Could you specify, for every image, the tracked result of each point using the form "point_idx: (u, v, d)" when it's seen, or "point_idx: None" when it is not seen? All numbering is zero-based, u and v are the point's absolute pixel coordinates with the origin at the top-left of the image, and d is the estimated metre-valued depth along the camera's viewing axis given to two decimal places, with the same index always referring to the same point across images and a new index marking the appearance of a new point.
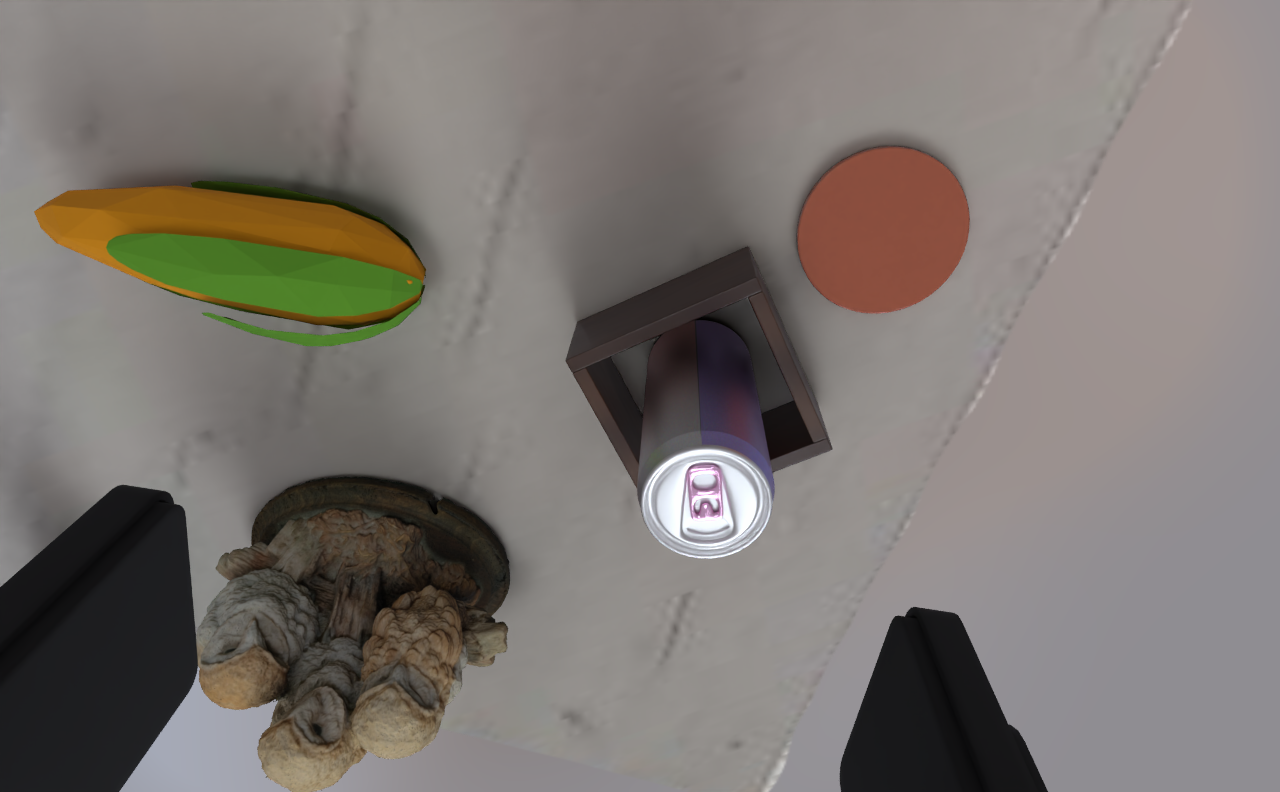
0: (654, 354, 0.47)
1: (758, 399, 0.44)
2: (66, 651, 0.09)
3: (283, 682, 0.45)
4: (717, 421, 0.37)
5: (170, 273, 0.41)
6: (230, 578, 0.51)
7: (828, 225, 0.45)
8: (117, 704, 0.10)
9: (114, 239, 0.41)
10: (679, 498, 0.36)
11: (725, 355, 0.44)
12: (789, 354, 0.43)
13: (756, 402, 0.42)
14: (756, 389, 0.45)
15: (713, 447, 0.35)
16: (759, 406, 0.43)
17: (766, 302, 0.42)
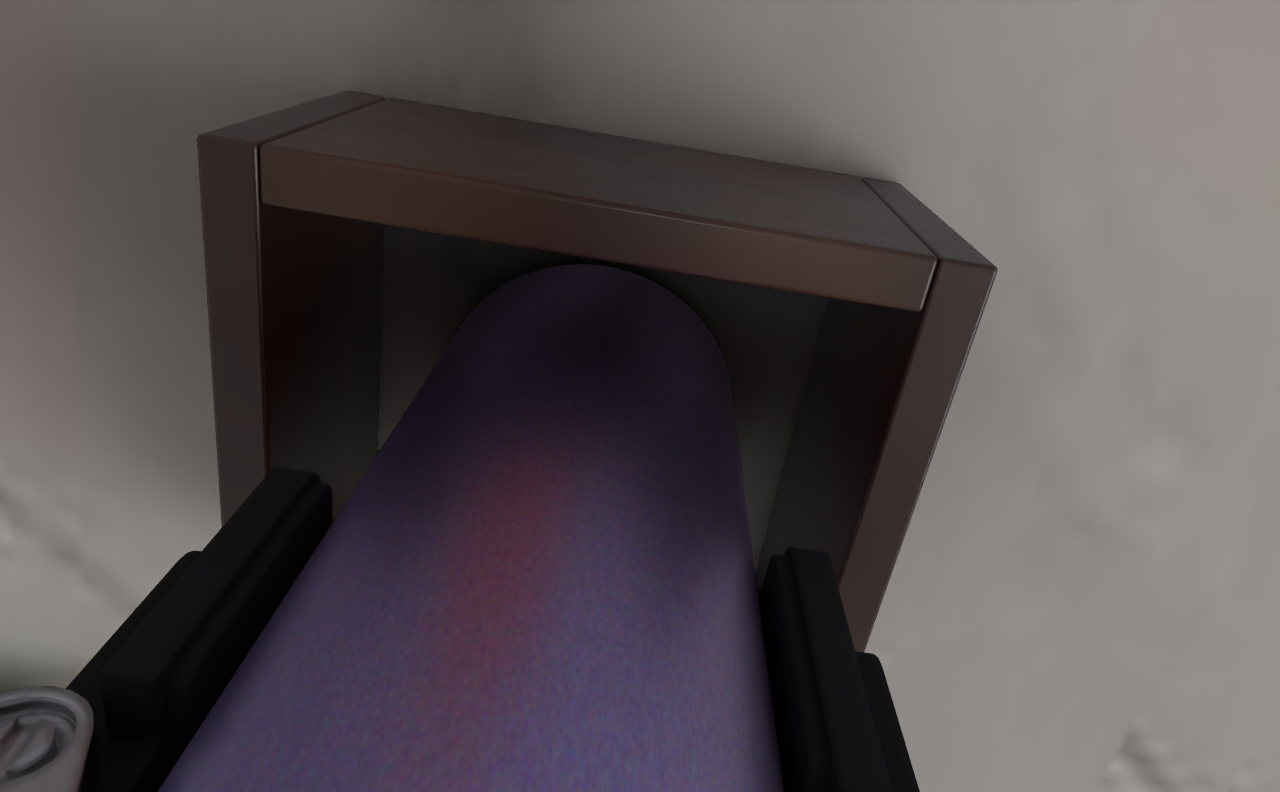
0: None
1: (612, 395, 0.11)
2: (256, 614, 0.09)
3: None
4: None
5: None
6: None
7: None
8: None
9: None
10: None
11: (446, 377, 0.13)
12: (541, 196, 0.11)
13: (542, 445, 0.10)
14: (612, 363, 0.12)
15: None
16: (592, 431, 0.10)
17: (306, 157, 0.11)
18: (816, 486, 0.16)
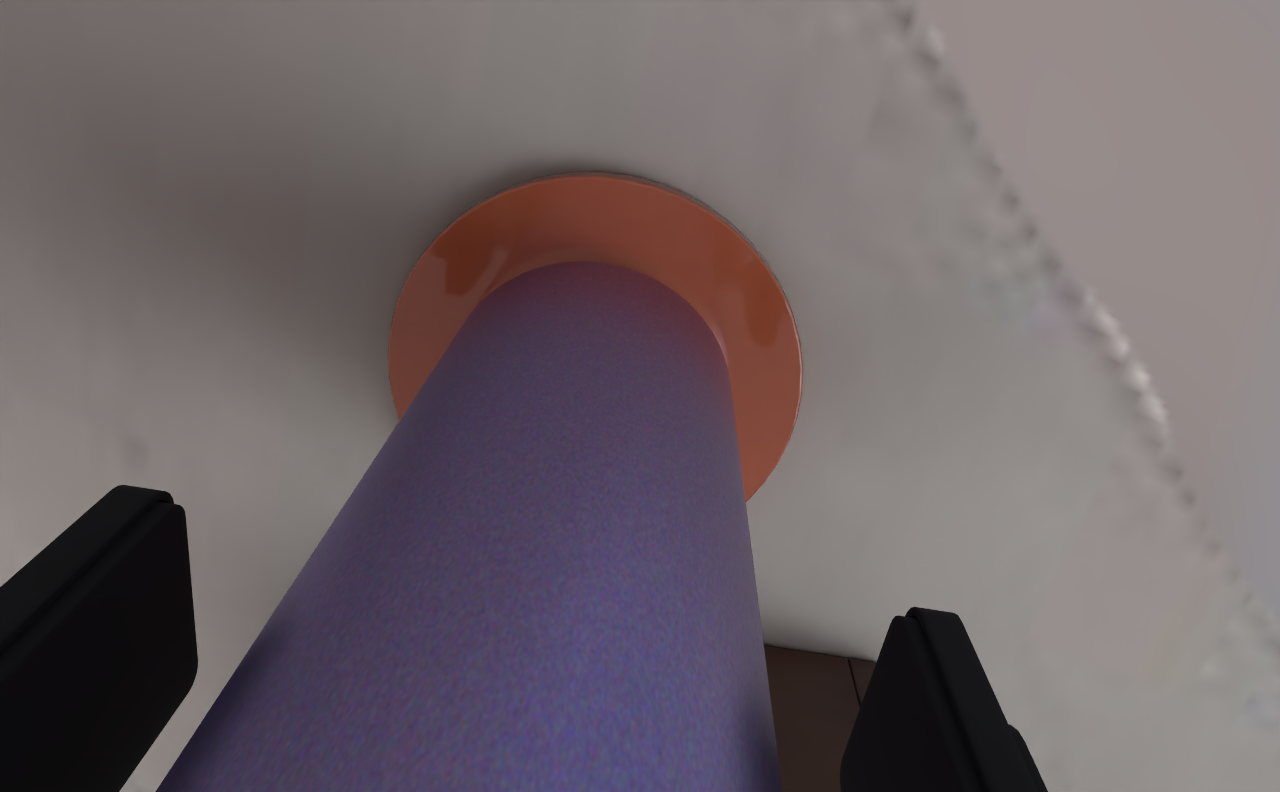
0: None
1: (613, 388, 0.12)
2: (66, 651, 0.09)
3: None
4: None
5: None
6: None
7: None
8: (117, 704, 0.10)
9: None
10: None
11: (450, 371, 0.13)
12: None
13: (544, 436, 0.10)
14: (613, 358, 0.13)
15: None
16: (593, 423, 0.11)
17: None
18: None
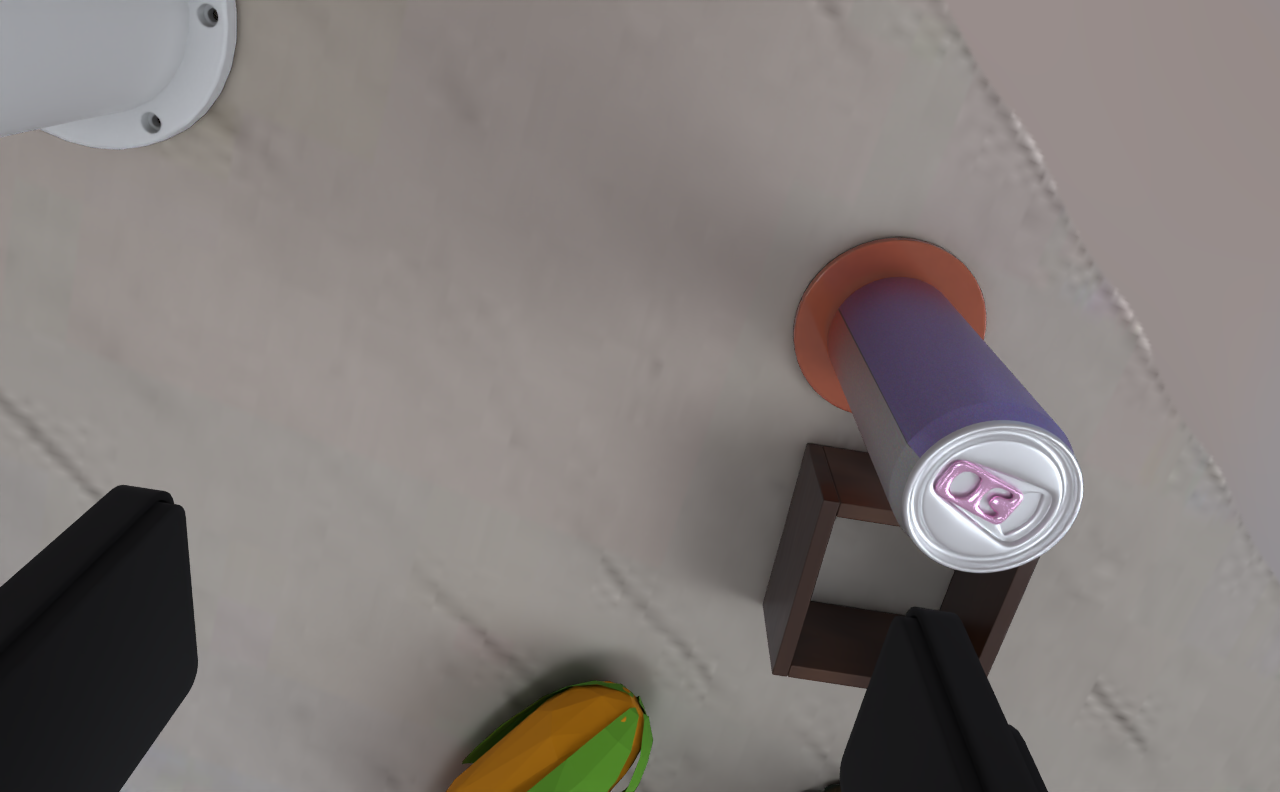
0: None
1: (957, 323, 0.34)
2: (66, 651, 0.09)
3: None
4: (917, 414, 0.28)
5: None
6: None
7: None
8: (117, 704, 0.10)
9: None
10: (961, 520, 0.28)
11: (884, 319, 0.35)
12: None
13: (952, 335, 0.32)
14: (947, 313, 0.35)
15: (930, 451, 0.27)
16: (961, 332, 0.33)
17: (853, 505, 0.39)
18: (977, 586, 0.44)
